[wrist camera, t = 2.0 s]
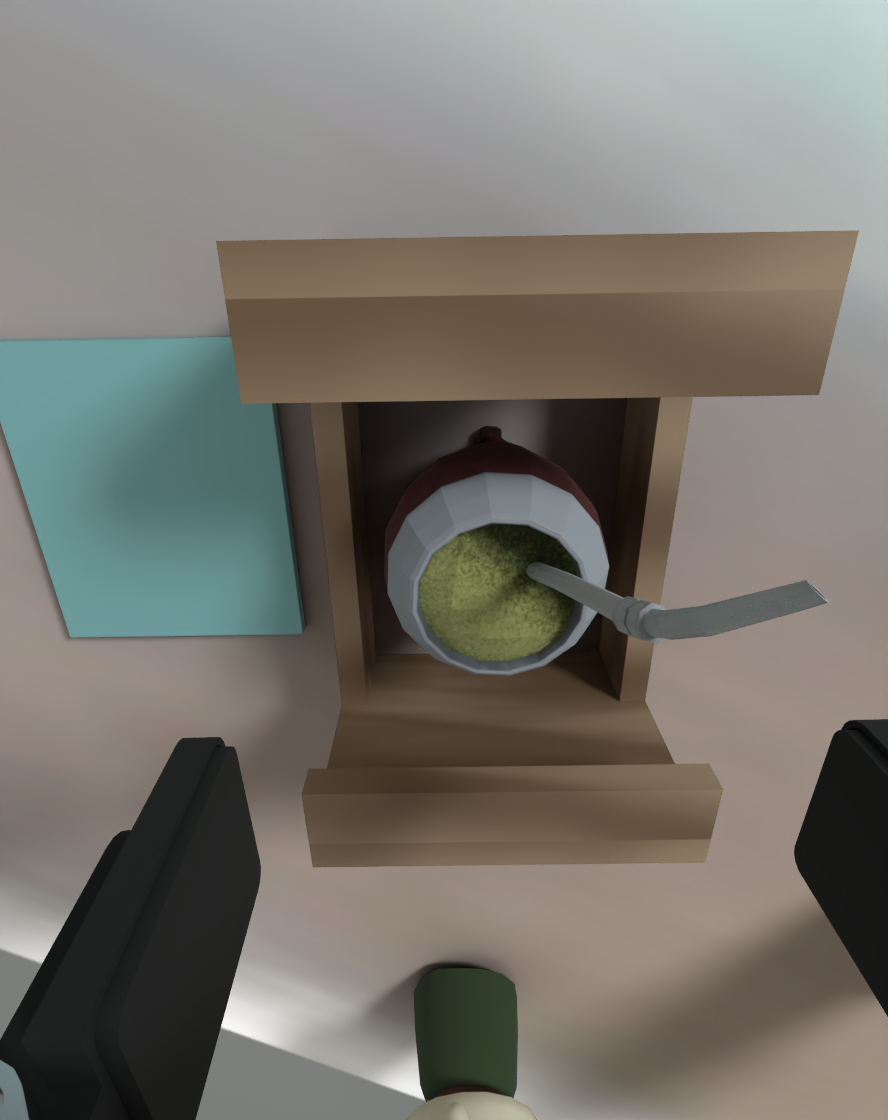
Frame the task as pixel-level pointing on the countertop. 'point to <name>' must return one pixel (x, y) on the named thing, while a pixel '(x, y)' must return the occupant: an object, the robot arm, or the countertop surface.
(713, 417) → the countertop surface
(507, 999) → the character mug
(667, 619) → the mate gourd
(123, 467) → the teal mat
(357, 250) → the walnut box
